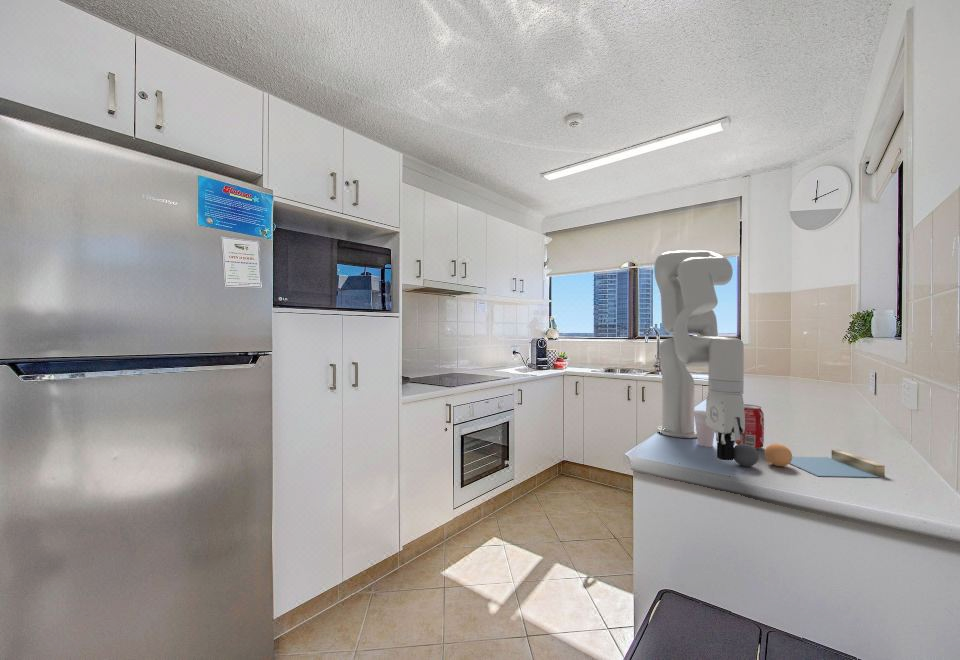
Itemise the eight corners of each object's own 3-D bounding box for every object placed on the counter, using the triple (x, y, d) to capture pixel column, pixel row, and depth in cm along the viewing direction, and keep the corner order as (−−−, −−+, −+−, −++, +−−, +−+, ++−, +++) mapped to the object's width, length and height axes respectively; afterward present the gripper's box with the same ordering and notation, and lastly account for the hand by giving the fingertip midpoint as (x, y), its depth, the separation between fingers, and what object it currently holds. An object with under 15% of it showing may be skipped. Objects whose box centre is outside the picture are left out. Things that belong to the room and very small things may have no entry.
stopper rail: (831, 459, 103) (831, 449, 103) (839, 459, 103) (839, 449, 103) (875, 476, 91) (875, 465, 91) (884, 476, 91) (884, 465, 91)
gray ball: (730, 438, 100) (753, 442, 99) (725, 457, 101) (748, 462, 100) (741, 446, 95) (765, 451, 94) (735, 467, 96) (760, 472, 95)
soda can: (754, 443, 117) (754, 404, 117) (769, 451, 110) (769, 408, 110) (729, 443, 117) (729, 403, 117) (743, 450, 110) (743, 408, 110)
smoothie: (713, 449, 111) (713, 400, 111) (689, 444, 115) (689, 397, 115) (721, 445, 115) (721, 398, 115) (697, 440, 120) (698, 395, 120)
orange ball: (759, 461, 101) (759, 440, 101) (781, 462, 100) (781, 440, 100) (774, 469, 95) (774, 446, 95) (797, 469, 95) (798, 447, 95)
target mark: (774, 456, 105) (774, 456, 105) (828, 457, 104) (828, 457, 104) (817, 476, 91) (817, 475, 91) (880, 477, 90) (880, 476, 90)
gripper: (696, 382, 106) (695, 449, 106) (726, 391, 91) (726, 469, 91) (724, 382, 105) (724, 450, 105) (760, 391, 90) (759, 470, 90)
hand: (725, 458), depth 98 cm, fingers closed
